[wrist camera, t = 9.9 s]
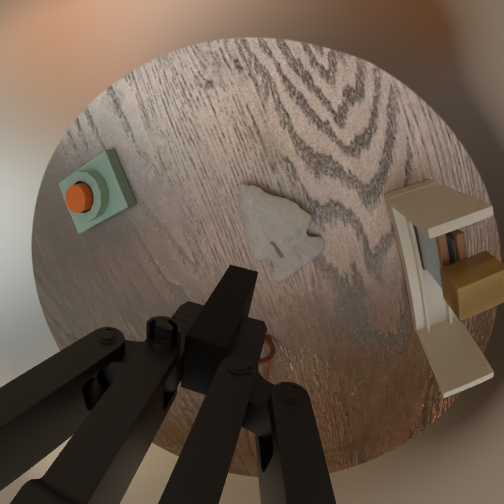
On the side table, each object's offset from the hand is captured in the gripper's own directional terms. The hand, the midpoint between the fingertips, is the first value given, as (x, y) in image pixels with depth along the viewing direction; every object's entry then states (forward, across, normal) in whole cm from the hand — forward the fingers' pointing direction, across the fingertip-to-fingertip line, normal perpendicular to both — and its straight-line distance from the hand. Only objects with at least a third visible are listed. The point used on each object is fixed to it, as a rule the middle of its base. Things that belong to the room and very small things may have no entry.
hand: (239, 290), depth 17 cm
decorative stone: (+20, 0, -1) cm, 20 cm away
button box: (+20, -24, -2) cm, 31 cm away
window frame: (+20, +19, -1) cm, 27 cm away
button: (+16, -24, -2) cm, 29 cm away
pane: (+17, +18, +2) cm, 25 cm away
